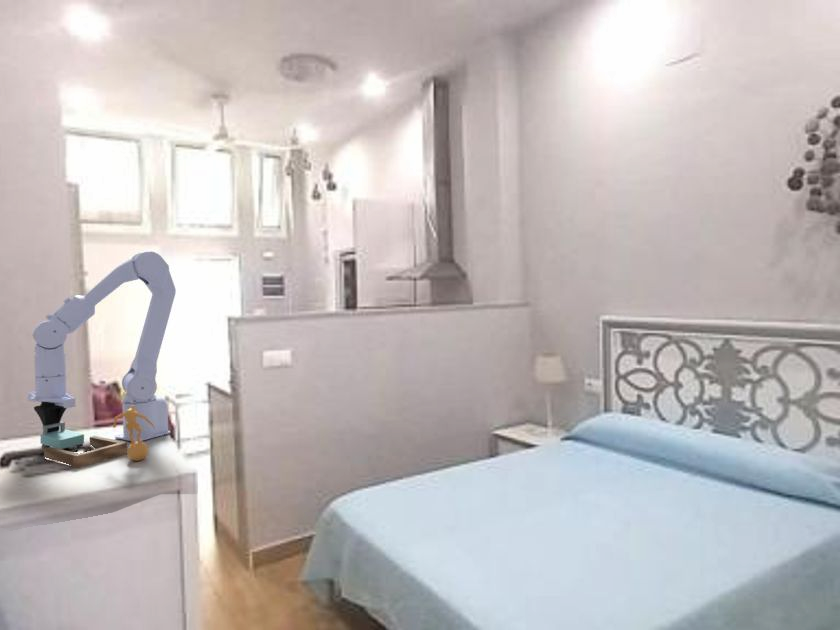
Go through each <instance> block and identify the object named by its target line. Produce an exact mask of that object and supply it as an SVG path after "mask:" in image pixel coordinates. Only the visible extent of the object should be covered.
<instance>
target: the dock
mask: <svg viewBox="0 0 840 630" xmlns="http://www.w3.org/2000/svg"><path fill="white" fill-rule="evenodd" d="M90 445H92V446H93V447H94V448H95V449H94V450H91V451H87V452H83V453H80V454H78V453H74V451H69V450H66V449H65V450H61V449H57V448H54V447H51V446H50V447H48V448H44V451H43V454H44V455H43V458H44V457H46V458H49V459H52V460H57V461H60V462H63V463H66V464H69V465H71V466H73V467H72V468H75V469H77V468H81V467H82V468H83V467H85V466H89V465H92V464H95V463H98V462H103V461H106V460H110V459H113V458H116V457H119V456H124V455H126V453H127V449H128V441H124V440H123V441H122V440H117V439H112V438H109V437H108V438H107V437H102V436H98V435H93V436H89V446H90ZM71 466H70V467H71Z"/></svg>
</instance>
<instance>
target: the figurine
mask: <svg viewBox="0 0 840 630" xmlns="http://www.w3.org/2000/svg"><path fill="white" fill-rule="evenodd" d="M123 416H124V417H125V419H126V420H127V422H128V423H126V428H127V429H128V430H129V431H130V432H131V433H130V434H129V437H130V440H131V441H130V444H129V445H128V446H127V456H128V458H129V459H130V460H132V461H135V462H138V461H142V460H144V459H145V458H146V457H147V456H148V453H149V446H148V445H147V444H146V442H144V441H140V439H139V437H140V436H141V432H142V428H141V427H140V425H139V423H137V424H136V418H137V416H138V417H140V418H144V419H145V420H146V421H147V422H148V423H149V424H151V425H152V426H153V428H154V425H153V424H152V422H151V421H149V420H148V419H147V417H145V416H144V415H141V414H139V413H138V412H136V411H135V407H134V405H131V406H130V407H129V409H128V410H127V411H125V412H123V411H122V413H120V414H118V415H116V416H114V419H113V425H112V428H113V429H116V428H117V420H118V419H120V418H123ZM134 428H135V430H137V431H139V433H138V434H137V441H134V440H133V439H132V436H133V429H134Z"/></svg>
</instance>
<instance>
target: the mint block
mask: <svg viewBox="0 0 840 630" xmlns="http://www.w3.org/2000/svg"><path fill="white" fill-rule="evenodd" d="M57 426H59V427H60V429H59V430H58V431H54V432H49V433H47V429H48V428H53V427H57ZM40 444H41V450H42V449H44V448H48V447H52V448H57V449H61V450H64V449H67V448H71V447H74V446H77V447H81V446H83V447H84V444H85V434H84V433H80V432H78V431H77V432H76V431H74V430H70V429H66V422H65V421H60V422H59V423H54V424H50V425H45V426H43V425H42V433H41V434H40Z"/></svg>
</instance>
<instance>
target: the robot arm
mask: <svg viewBox="0 0 840 630" xmlns="http://www.w3.org/2000/svg"><path fill="white" fill-rule="evenodd" d="M138 280H140V281H142V282H143V283H144V285H145V286H146V288H147V289H148V291H150V293H151V298H150V302H149V306H148V309H147V313H146V316H145V320H144V324H143V327H142V331H141V333H140V338H139V342H138V345H137V349H136V352H135V355H134V356H135V357H134V358H133V360H132V362H131V364H130V367H129V369H128V371H127V372H126V374H124V376H122V377H123V378H122V380H121V387H122V389H123V391H124V392H125V393H126V394H125V396H124V397H123V398H122V413H123V412H125V411H127V410H128V409H129V407H130V406H131V405H134V407H135V411H136V412H138V413H139V414H141V415H144V416H145V417H147V419H148V420H149V421H151V422H152V424H153V425H154V428H153V426H152V425H151V424H149V423H148V422H147V421H146V420H145V419H144V418H140V417H138V416H137V418H136V424H137V423H139V425H140V427H141V428H142V432H141V436H140V437H139V439H140V441H142V442H144V441H146V440H150V439H153V438H158V437H160V436H161V437H162V436H164V434H165V435H169V434H171V431H170V430H169V408H168V404H167V401H166V399H165V398H163V397H161V396H157V395H155V394H156V392H157V387H158V386H157V385H158V384H157V382H156V377H157V376H156V375H157V372H158V371H157V369H158V368H157V367H158V365H157V363H158V359H159V355H160V351H161V348H162V344H163V340H164V338H165V333H166V330H167V325H168V323H169V320H170V319H169V318H170V315H171V311H172V308H173V304H174V299H175V297H176V287H175V283H174V281H173V278H172V275H171V271H170V266H169V264H168V262H166V261H165V259H164V258H163V257H162V256H161V255H160V254H159V253H157V252H155V251H150V250H148V251H144V252H138V253H137V254H134V255H133V256H132V257H131V258H129V259H128V260H126V261H124V262H122V263H121V264H118V265H117V266H116V267H114V269H113V270H112V271H110V272H109V273H108V274H107V275H106V276H104V278H103V279H101V280H100V281H99V282H98V283H97V284H96V285H95V286H93V287H92V288H91V289H90V290H89V291H87V293H85V294H84V295H73V296H72V297H71V298H69V297H66V298H65V299H63V302H64V304H62V305H61V306H60V307H59V308H57V309H56V310H55V311H54V312H53V313H51V314H50V313H48V314H47V315H45V318H46V320H44V321H41V322H39V323H38V324H37V325H36V327H35V328H34V330H33V333H32V336H33V337H32V338H33V340H34V341H35V346H34V352H35V354H34V389H35V391H34V390H33V391H29V392H27V401H28V402H38V403H41V404H40V405H36V406H34V407H33V409H34V411H35V412H36V414H37V416H38V417H39V420H40V421H41V424H42V427H43V426H45V425H50V424H54V423H59V422H61V420H62V418H63V415H64V414H65V412H66V410H67V409H70V408H74V407H76V397H74V396H73V397H72V396H71V395H70V394H68V393H67V375H66V374H67V372H66V354H65V346H64V343H65V342H66V340H67V338H68V337H67V336H68V334H73V333H74V332H75V331H76V330H77V329H79V328H80V327H81V326H83V324H85V323H86V322H87V321H88V320H89V319H90V318H91V317H93V316H94V315H95V313H96V305H97V304H99V303H100V302H102V301H103V300H104V299H105V298H107V297H108V296H109V295H110V294H112V293H113V292H114V291H115V290H116V289H118V288H119V287H121V286H122V285H123V284H124V283H125V284H126V283H128V282H129V283H130V282H132V281H138ZM122 422H123V423H122V425H123V427H122V430H123V432H122V434H118V435H115V436H114V438H115V439H119V440H123V441H127V442H128V441H129V442H131V440H130V437H129V434H130V433H131V432H130V431H129V430H128V429H127V428H126V423H128V422H127V420H126V419H125V417H124V416H123V417H122ZM58 430H60V426H57V427H53V428H48V429H47V433H49V432H54V431H58ZM138 433H139V431H137V430H135V428H134V429H133V436H132V439H133V440H134V441H137V434H138Z"/></svg>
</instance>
